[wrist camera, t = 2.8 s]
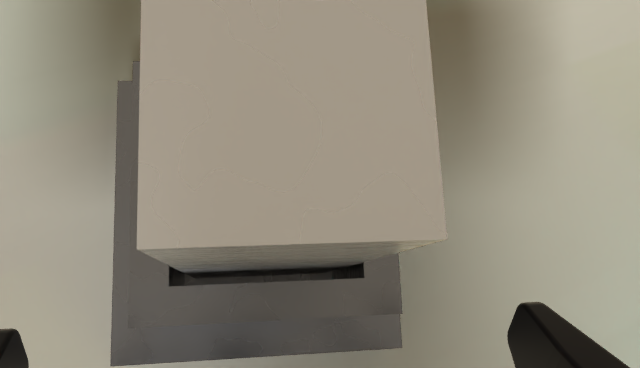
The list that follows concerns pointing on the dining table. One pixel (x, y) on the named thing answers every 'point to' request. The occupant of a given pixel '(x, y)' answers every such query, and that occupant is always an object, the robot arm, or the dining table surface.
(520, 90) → the dining table surface
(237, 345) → the stand base
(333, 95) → the column
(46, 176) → the dining table surface
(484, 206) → the dining table surface
